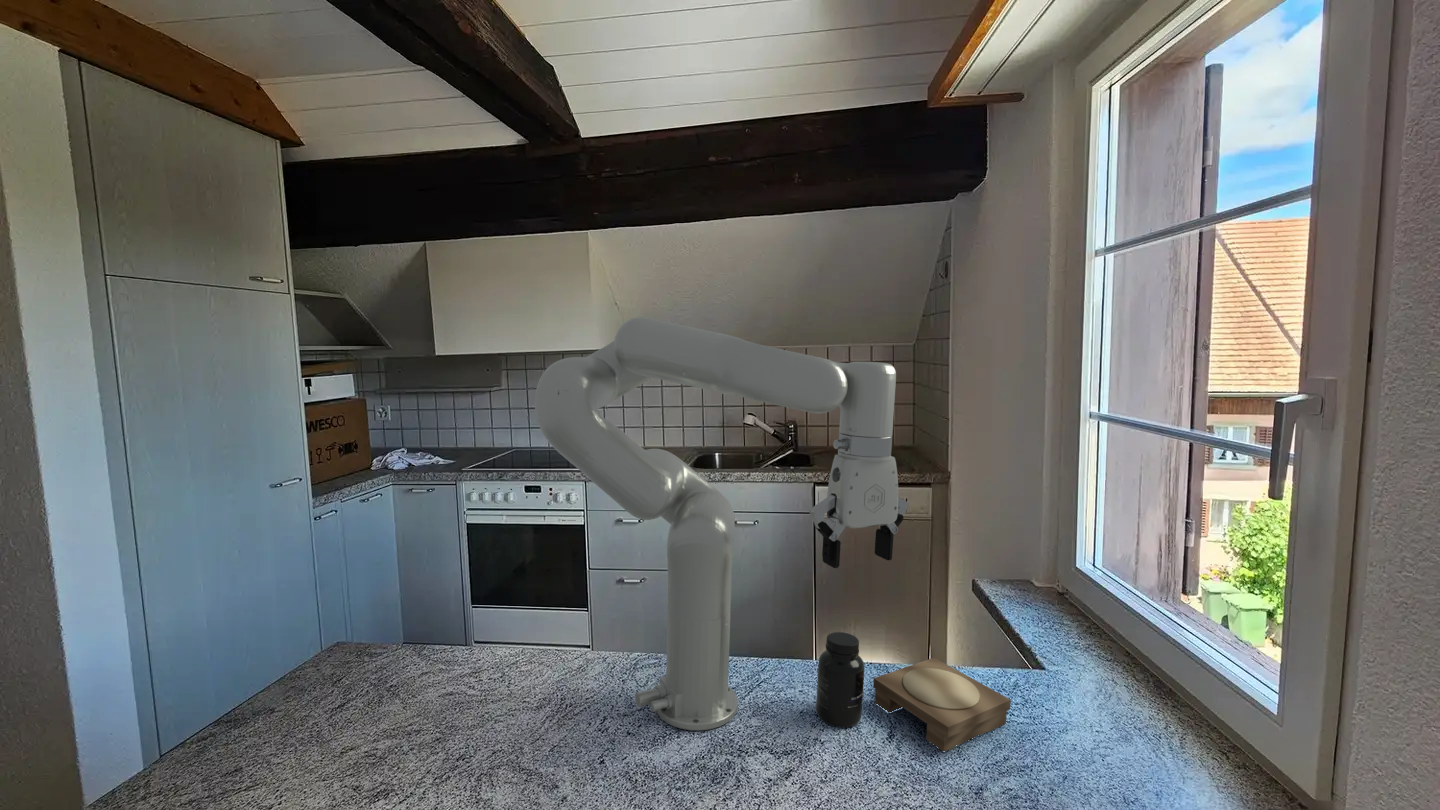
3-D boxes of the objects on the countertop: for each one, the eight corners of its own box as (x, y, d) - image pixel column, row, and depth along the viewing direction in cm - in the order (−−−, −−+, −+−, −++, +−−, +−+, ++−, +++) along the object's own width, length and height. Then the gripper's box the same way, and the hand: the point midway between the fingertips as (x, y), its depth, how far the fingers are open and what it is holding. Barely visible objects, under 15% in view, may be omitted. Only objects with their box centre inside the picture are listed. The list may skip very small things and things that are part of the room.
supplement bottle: (862, 732, 86) (866, 652, 85) (814, 725, 87) (818, 646, 86) (861, 705, 92) (864, 631, 91) (816, 699, 94) (820, 626, 93)
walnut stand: (946, 755, 81) (948, 725, 81) (872, 702, 93) (873, 676, 93) (1009, 725, 88) (1011, 697, 88) (932, 680, 100) (934, 655, 100)
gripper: (831, 452, 79) (824, 577, 80) (928, 449, 87) (920, 562, 88) (800, 444, 86) (794, 559, 87) (892, 441, 93) (885, 547, 95)
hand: (857, 561), depth 88 cm, fingers open, 9 cm apart
